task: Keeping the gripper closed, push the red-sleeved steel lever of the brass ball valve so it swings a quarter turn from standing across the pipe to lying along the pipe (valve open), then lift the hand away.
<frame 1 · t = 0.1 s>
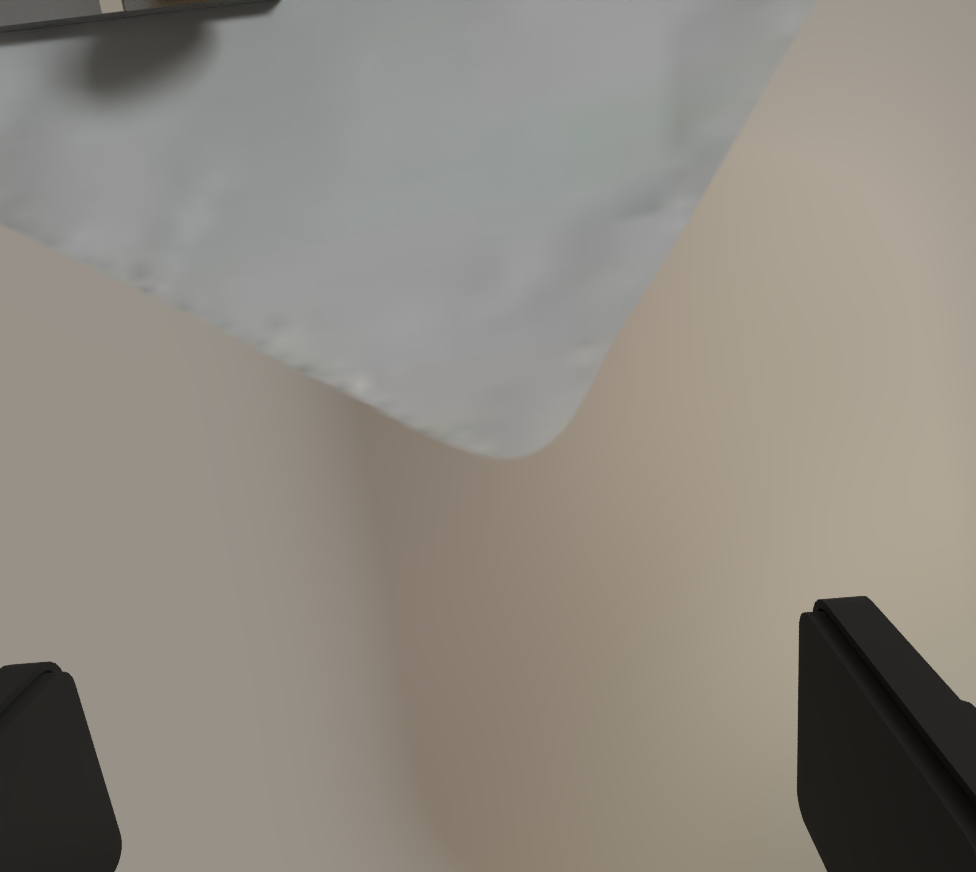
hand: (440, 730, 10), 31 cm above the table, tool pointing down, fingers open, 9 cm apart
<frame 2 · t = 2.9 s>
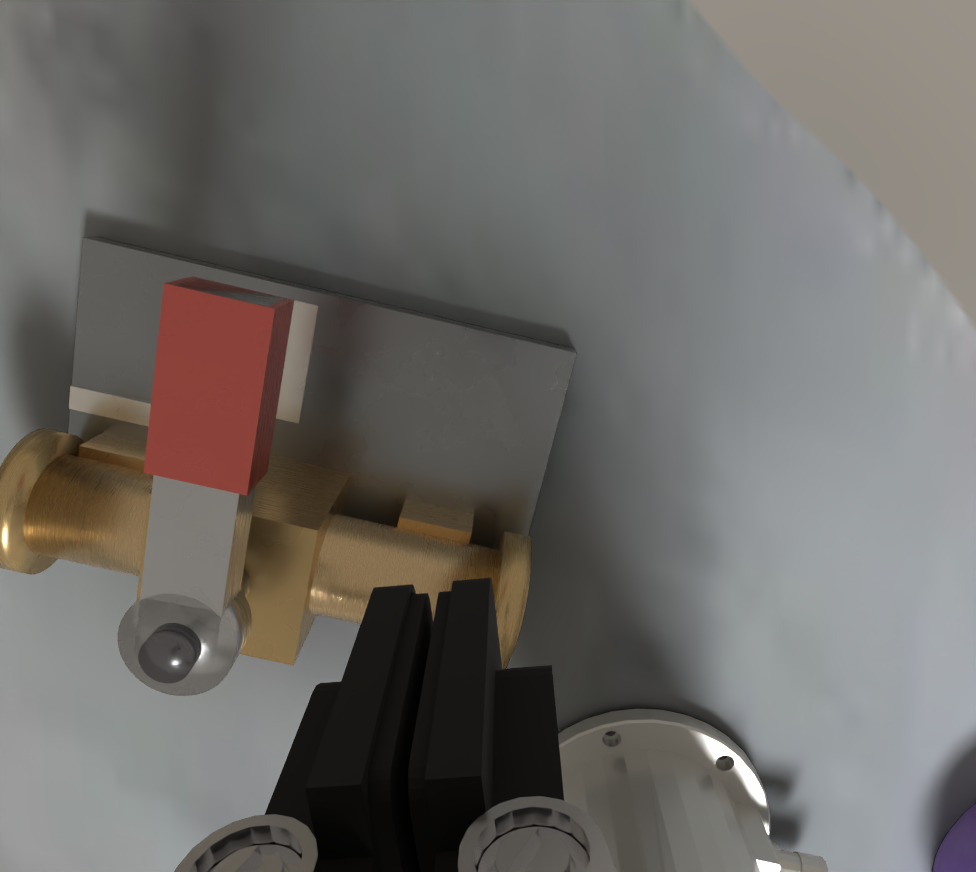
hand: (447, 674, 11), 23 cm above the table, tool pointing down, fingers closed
lever: (200, 504, 23), point 11 cm above the table, hinge at 0.0°
valve: (278, 508, 35), on the table
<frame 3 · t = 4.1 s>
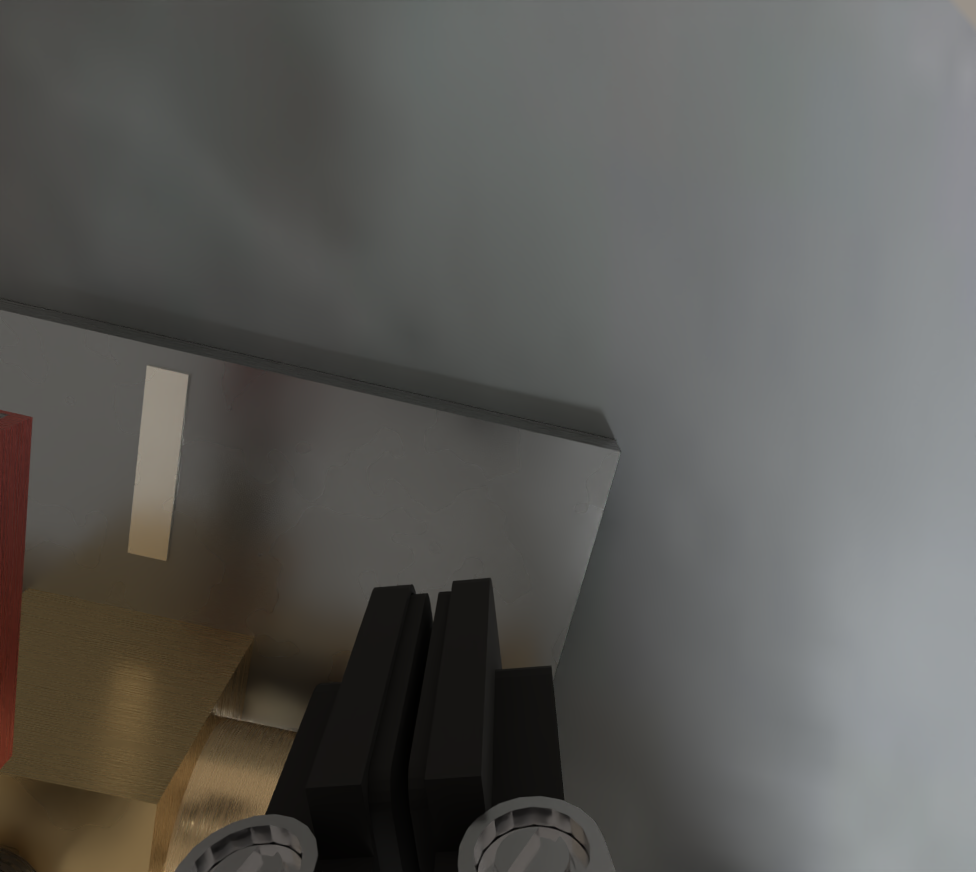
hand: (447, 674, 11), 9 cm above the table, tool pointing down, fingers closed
valve: (148, 679, 22), on the table
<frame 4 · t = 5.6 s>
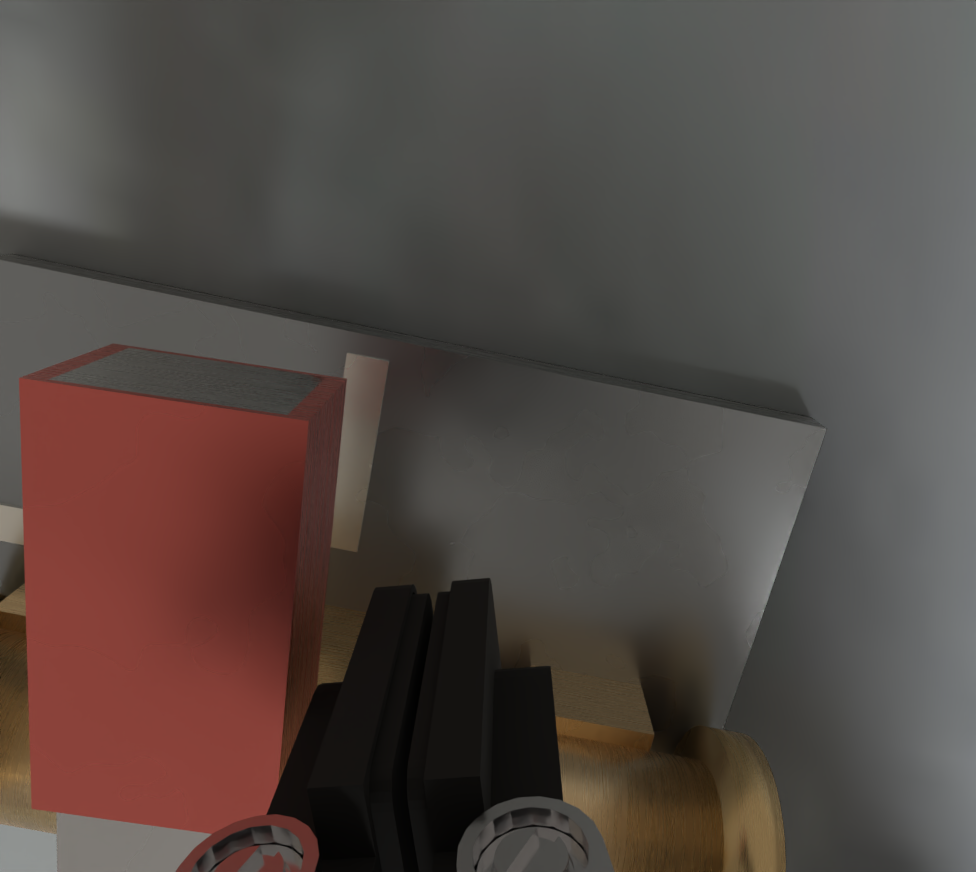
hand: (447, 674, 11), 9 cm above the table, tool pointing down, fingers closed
lever: (172, 842, 11), point 11 cm above the table, hinge at 3.0°, touching gripper
valve: (323, 674, 22), on the table
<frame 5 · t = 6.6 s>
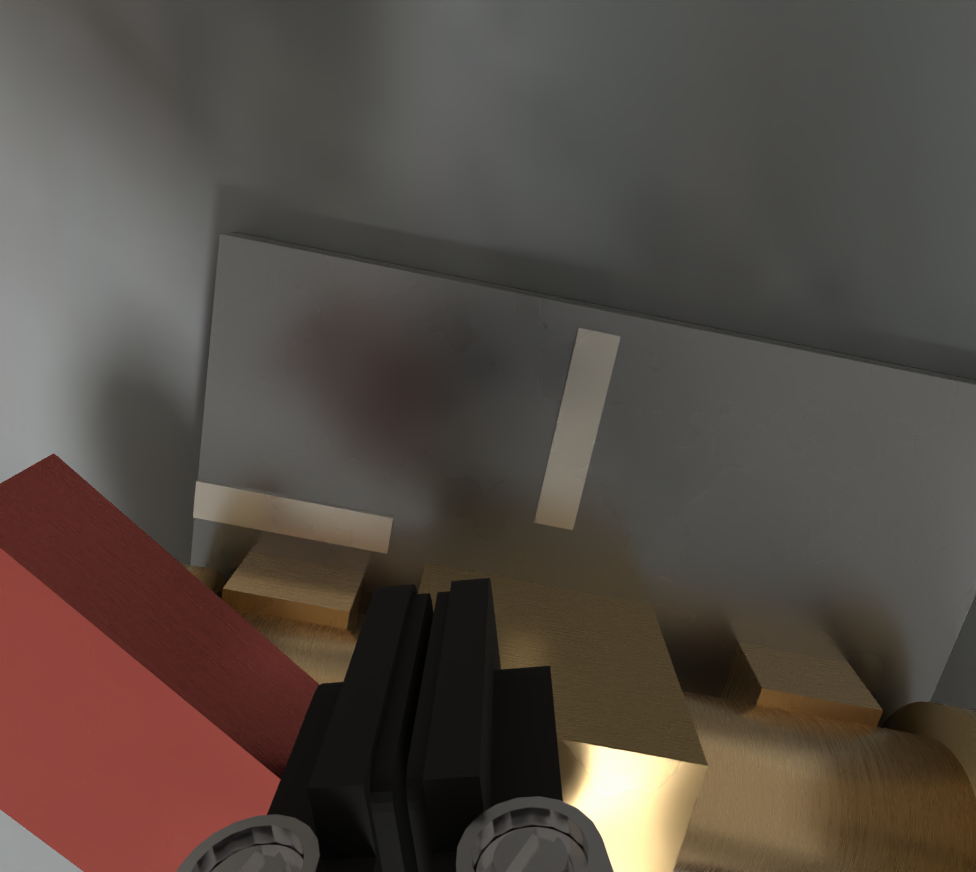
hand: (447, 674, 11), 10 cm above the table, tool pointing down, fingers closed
lever: (300, 870, 11), point 11 cm above the table, hinge at 54.6°, touching gripper
valve: (516, 654, 22), on the table
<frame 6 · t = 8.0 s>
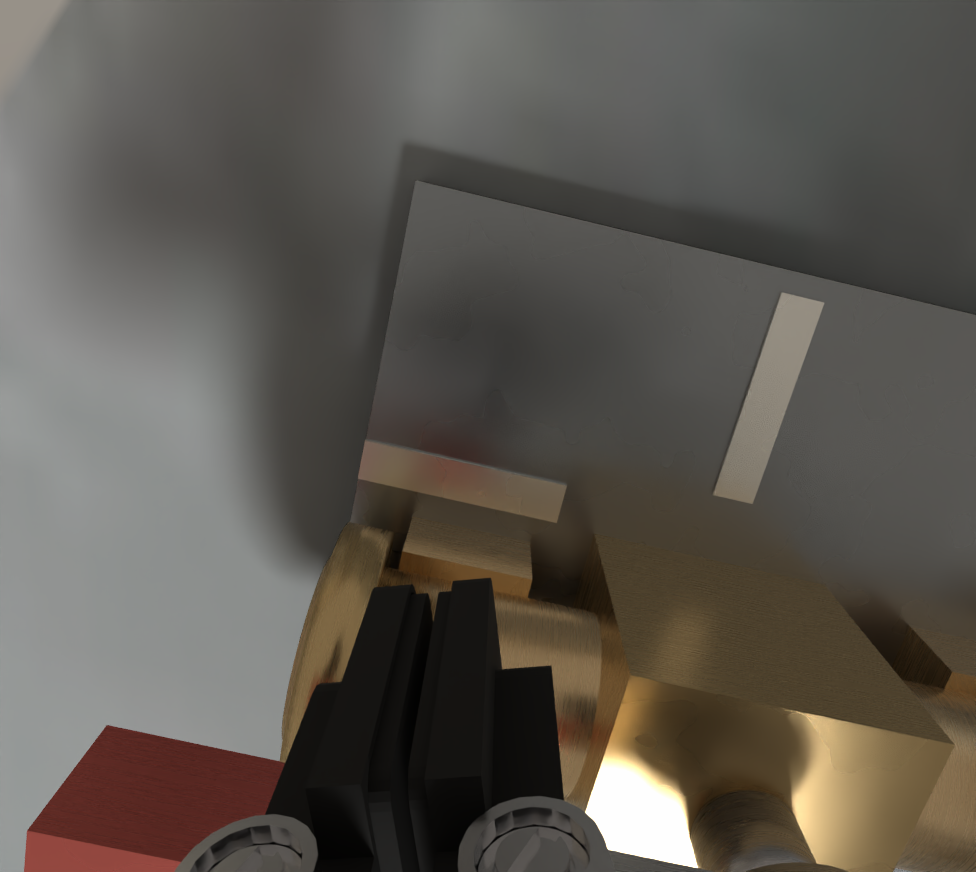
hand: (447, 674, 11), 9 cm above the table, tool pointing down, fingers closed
valve: (669, 633, 21), on the table
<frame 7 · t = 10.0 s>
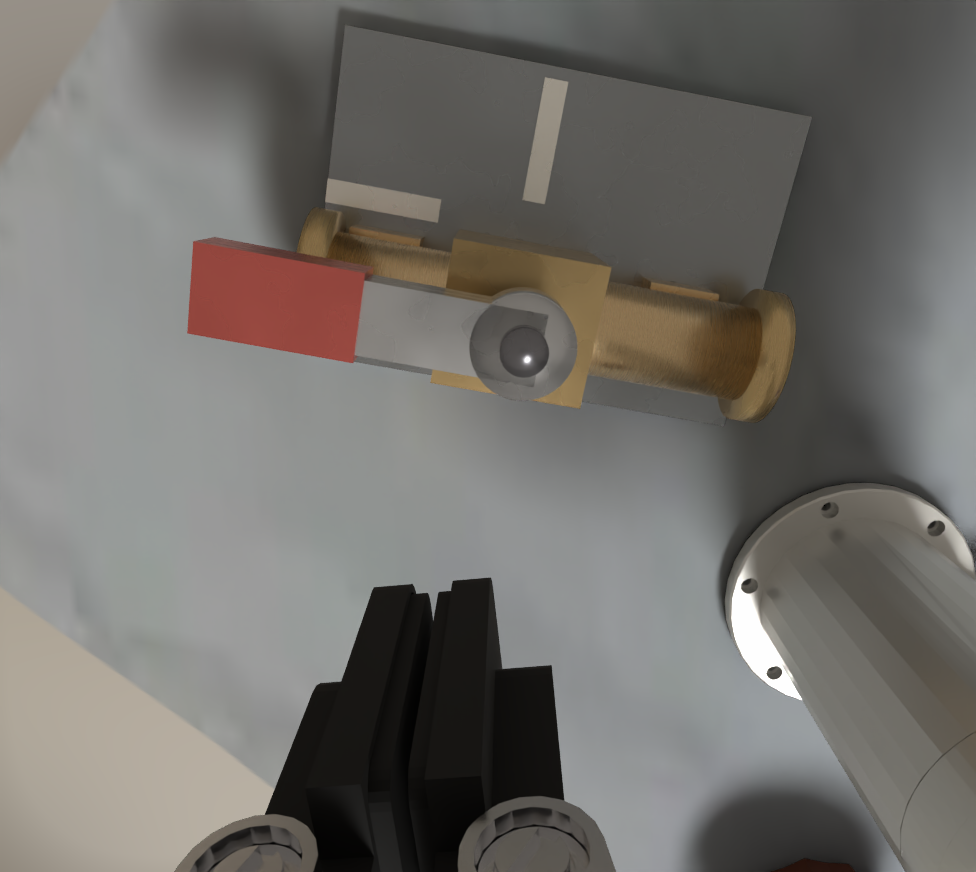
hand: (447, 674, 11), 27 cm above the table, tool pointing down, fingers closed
lever: (388, 320, 26), point 11 cm above the table, hinge at 89.7°
valve: (513, 300, 37), on the table
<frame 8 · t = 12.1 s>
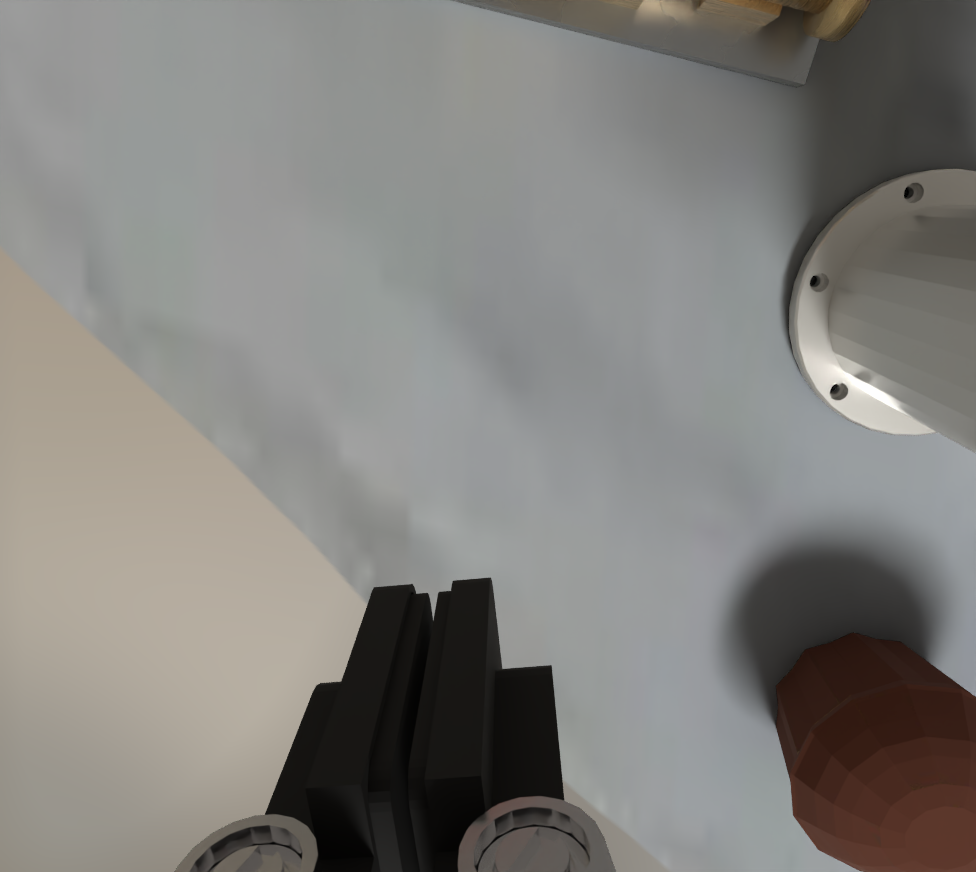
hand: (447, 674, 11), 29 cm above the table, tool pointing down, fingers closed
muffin: (850, 699, 45), on the table
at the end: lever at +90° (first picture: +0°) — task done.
